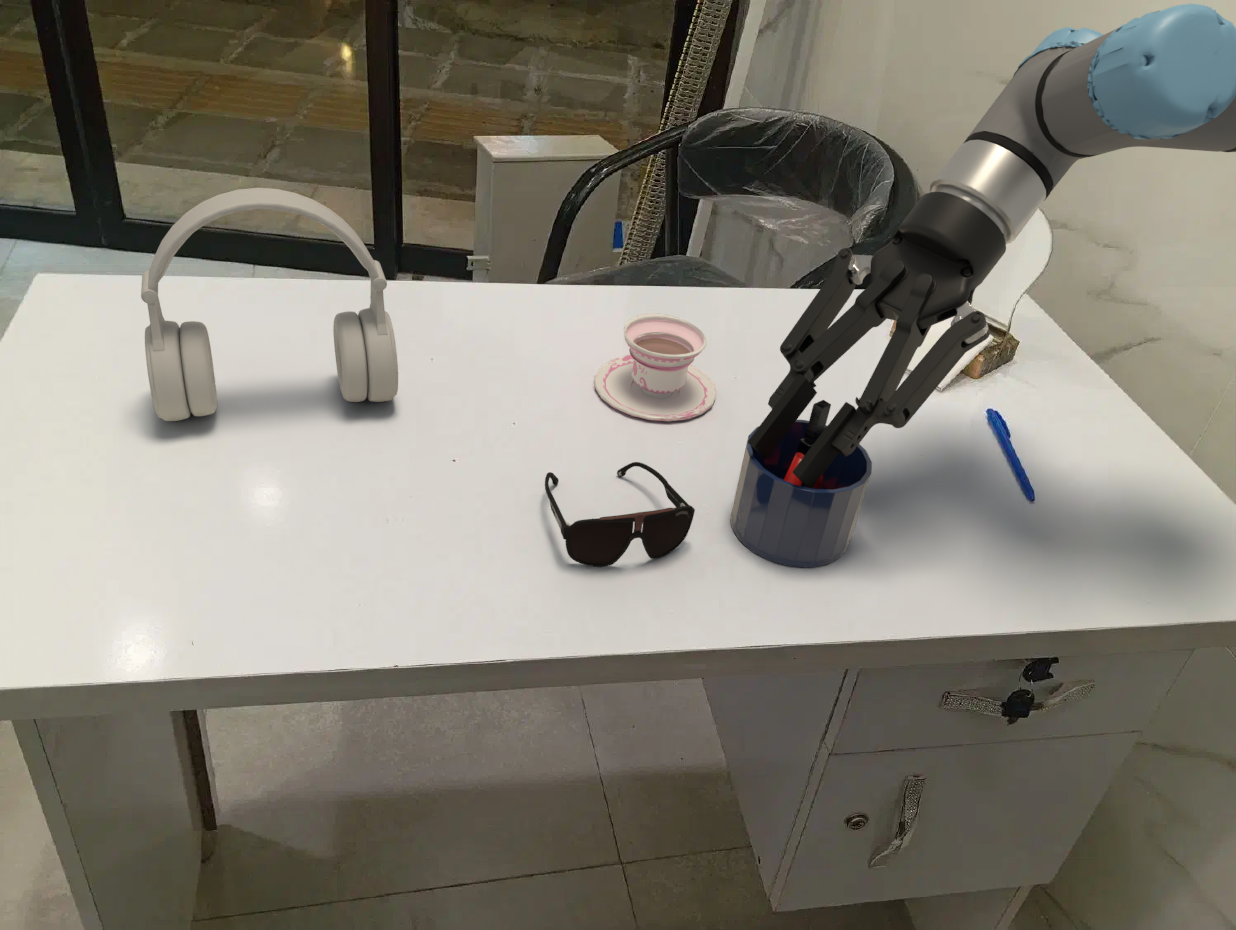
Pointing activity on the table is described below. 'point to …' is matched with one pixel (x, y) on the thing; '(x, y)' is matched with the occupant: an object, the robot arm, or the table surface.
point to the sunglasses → (624, 528)
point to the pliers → (810, 440)
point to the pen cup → (798, 504)
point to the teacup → (658, 371)
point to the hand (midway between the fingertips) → (779, 464)
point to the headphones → (185, 351)
